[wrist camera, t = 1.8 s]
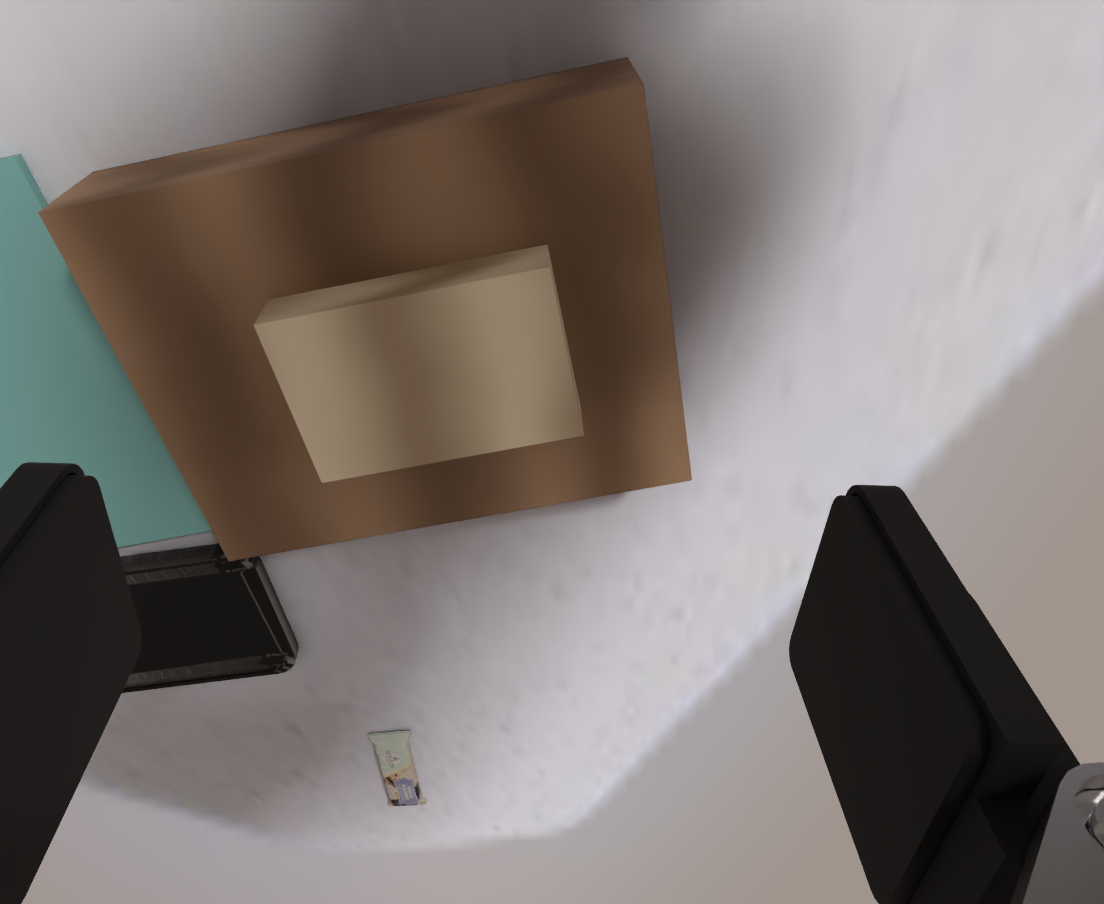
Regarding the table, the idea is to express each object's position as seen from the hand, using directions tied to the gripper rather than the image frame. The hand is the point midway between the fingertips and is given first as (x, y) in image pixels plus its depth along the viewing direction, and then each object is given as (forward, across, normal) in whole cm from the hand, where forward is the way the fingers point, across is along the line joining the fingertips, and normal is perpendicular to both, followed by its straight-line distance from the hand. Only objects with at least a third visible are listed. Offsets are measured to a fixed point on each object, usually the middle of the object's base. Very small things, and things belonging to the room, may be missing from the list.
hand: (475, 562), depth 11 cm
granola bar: (+22, +4, +34) cm, 40 cm away
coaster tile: (+16, +2, +6) cm, 17 cm away
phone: (+22, +17, +23) cm, 36 cm away
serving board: (+21, +3, +6) cm, 22 cm away
